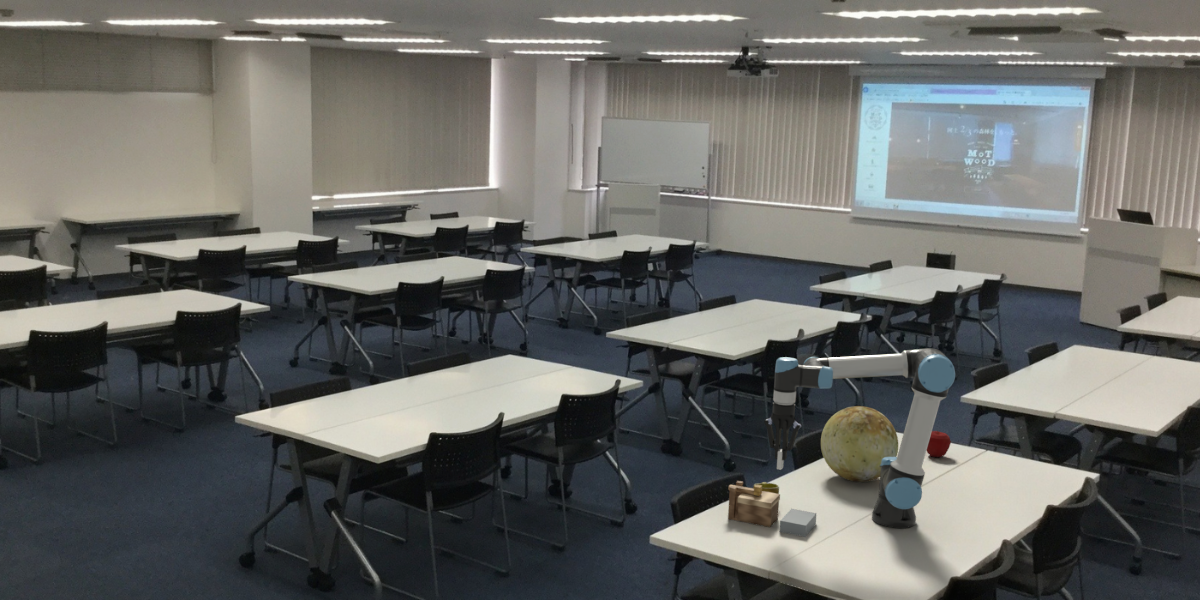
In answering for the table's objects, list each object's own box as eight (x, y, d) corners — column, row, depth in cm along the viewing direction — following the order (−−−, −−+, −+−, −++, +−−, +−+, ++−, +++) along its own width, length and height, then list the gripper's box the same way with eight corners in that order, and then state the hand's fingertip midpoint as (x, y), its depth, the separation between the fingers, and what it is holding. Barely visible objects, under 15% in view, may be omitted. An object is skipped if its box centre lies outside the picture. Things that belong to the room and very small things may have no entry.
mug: (782, 508, 374) (775, 480, 375) (754, 514, 377) (748, 486, 378) (785, 503, 386) (778, 477, 387) (758, 509, 388) (752, 483, 390)
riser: (815, 524, 365) (816, 513, 364) (805, 536, 352) (805, 525, 352) (790, 519, 369) (791, 508, 368) (779, 531, 356) (780, 520, 356)
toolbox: (777, 519, 368) (779, 488, 367) (770, 527, 360) (772, 495, 359) (736, 511, 375) (737, 480, 373) (727, 519, 367) (729, 487, 365)
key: (761, 493, 366) (762, 485, 366) (759, 495, 364) (759, 487, 364) (730, 488, 371) (731, 480, 371) (728, 490, 369) (728, 482, 369)
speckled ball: (904, 478, 420) (910, 406, 416) (881, 497, 395) (887, 421, 391) (833, 464, 436) (838, 394, 432) (807, 482, 411) (812, 408, 407)
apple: (924, 459, 448) (926, 432, 446) (921, 452, 458) (923, 426, 456) (951, 461, 446) (953, 434, 444) (947, 454, 456) (949, 428, 455)
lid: (779, 502, 368) (780, 494, 368) (770, 511, 358) (770, 503, 358) (747, 496, 373) (747, 488, 373) (737, 505, 364) (737, 497, 363)
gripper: (805, 402, 358) (801, 468, 361) (769, 397, 364) (765, 462, 367) (799, 407, 351) (795, 474, 355) (762, 402, 357) (758, 468, 360)
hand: (779, 468), depth 361 cm, fingers closed
